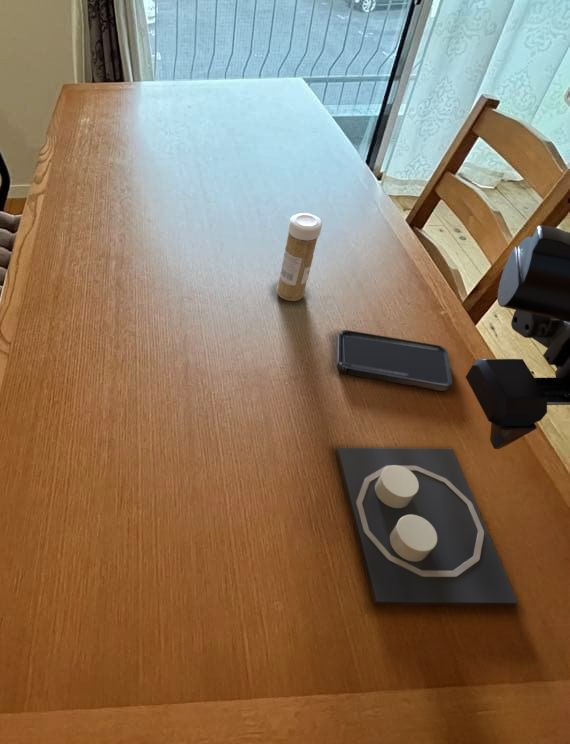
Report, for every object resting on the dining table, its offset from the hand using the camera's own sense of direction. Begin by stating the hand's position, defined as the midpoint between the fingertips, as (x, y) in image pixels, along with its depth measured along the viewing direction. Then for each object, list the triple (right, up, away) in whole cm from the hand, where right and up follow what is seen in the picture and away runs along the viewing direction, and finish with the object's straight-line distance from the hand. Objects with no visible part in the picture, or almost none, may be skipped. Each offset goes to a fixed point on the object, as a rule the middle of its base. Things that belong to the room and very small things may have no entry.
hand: (540, 444), depth 55 cm
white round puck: (-11, -7, +8) cm, 15 cm away
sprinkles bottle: (-17, +18, +34) cm, 42 cm away
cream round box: (-11, -11, +4) cm, 16 cm away
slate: (-9, -10, +7) cm, 15 cm away
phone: (-5, +7, +23) cm, 25 cm away
